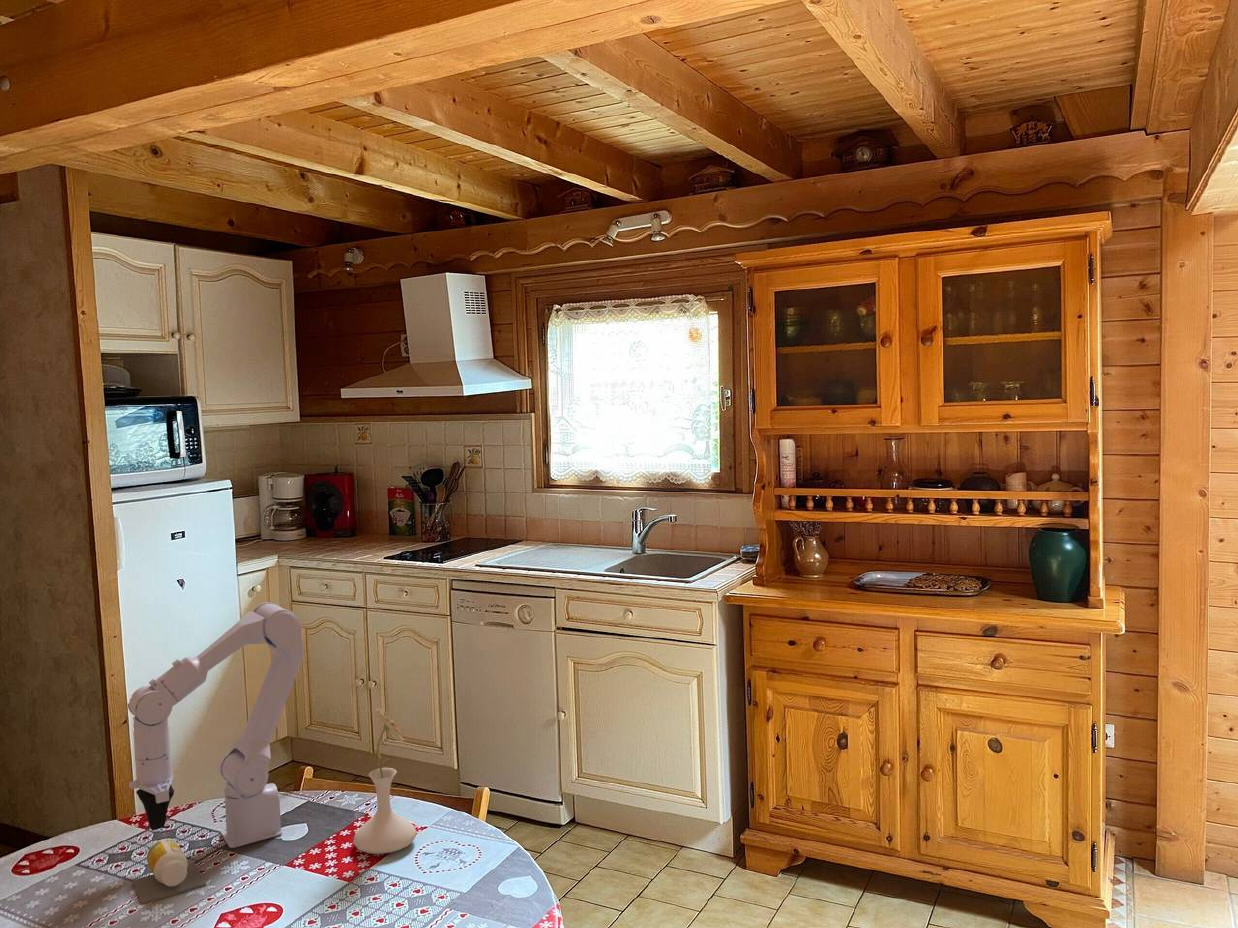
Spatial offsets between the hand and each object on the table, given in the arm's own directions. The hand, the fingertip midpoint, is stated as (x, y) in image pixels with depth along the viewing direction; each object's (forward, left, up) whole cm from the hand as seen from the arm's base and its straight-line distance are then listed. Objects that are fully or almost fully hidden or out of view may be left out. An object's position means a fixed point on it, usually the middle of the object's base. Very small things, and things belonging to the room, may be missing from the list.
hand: (157, 827), depth 173 cm
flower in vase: (-35, +18, -7) cm, 40 cm away
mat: (0, +10, -6) cm, 11 cm away
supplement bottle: (0, +3, -3) cm, 5 cm away
